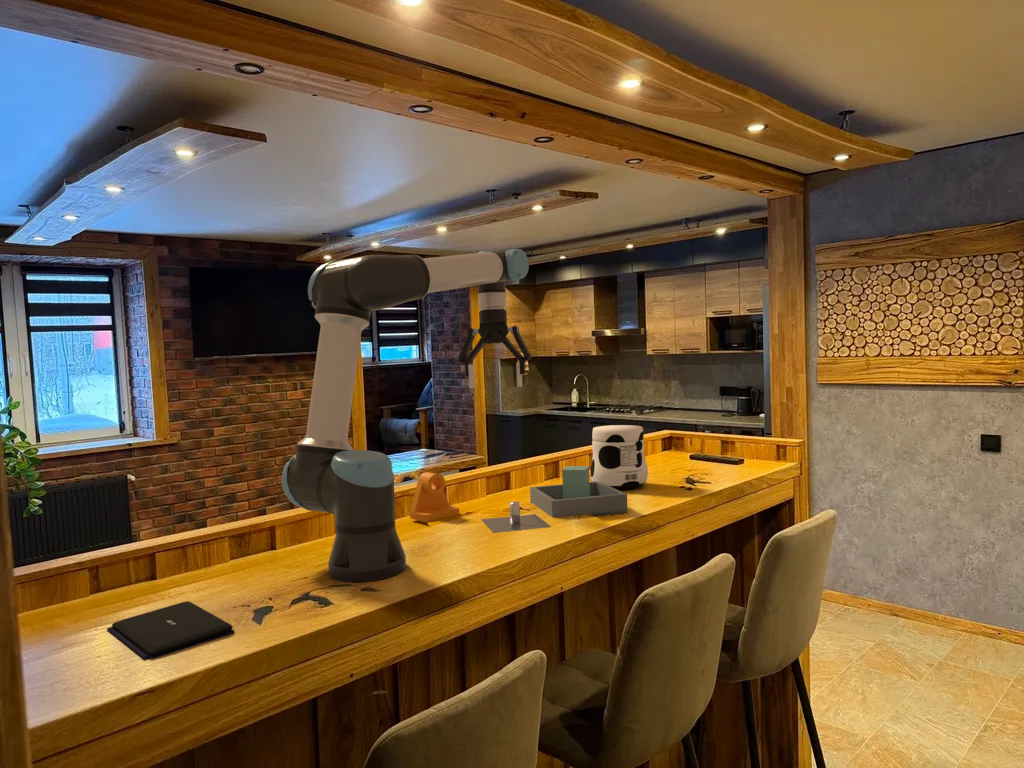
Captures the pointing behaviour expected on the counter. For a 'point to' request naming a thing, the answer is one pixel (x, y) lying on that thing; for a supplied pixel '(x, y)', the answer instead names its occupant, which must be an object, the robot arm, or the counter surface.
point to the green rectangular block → (576, 482)
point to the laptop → (169, 630)
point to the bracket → (431, 499)
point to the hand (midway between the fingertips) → (495, 387)
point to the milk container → (619, 456)
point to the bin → (579, 501)
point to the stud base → (515, 527)
